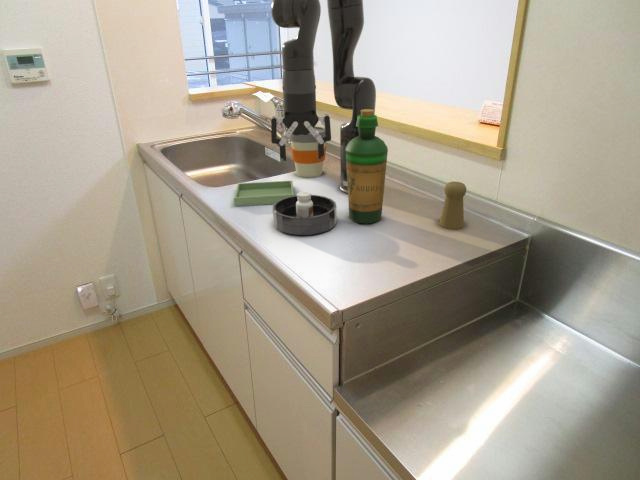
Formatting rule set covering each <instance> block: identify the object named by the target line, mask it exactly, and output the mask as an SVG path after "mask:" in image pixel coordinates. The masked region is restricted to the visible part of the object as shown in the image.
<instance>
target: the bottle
mask: <svg viewBox="0 0 640 480" xmlns="http://www.w3.org/2000/svg"><path fill="white" fill-rule="evenodd" d="M373 114H374V110H372V109H364V110H361V115H358V117H357V122H356V126H357V127H358V131H359V136H357V137H355V138H354V139H352V140H351V141H350V142H349V143H348V145H347V146H346V167H347V184H348V193H347V202H348V217H349V220H351V221H353V222H354V223H358V224H368V225H369V224H373V223H376V222H378V221H380V220H381V219H382V216H383V215H382V214H383V204H384V193H385V184H386V183H385V182H386V174H387V162H388V152H389V149H388V148H389V147H388V145H387V144H386V143H385V141H384V140H383V139H382V138H380V137H379V136H376V128H377V127H379V122H378V116H377V114H375V115H373Z"/></svg>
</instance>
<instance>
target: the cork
mask: <svg viewBox="0 0 640 480" xmlns="http://www.w3.org/2000/svg"><path fill="white" fill-rule="evenodd" d="M466 194H467V186H466V184H465V183H463V182H460V181H449V182H447V183H446V184H445V186H444V195H445V197H444V201H443V206H442V210H441V213H440V214H441V215H440V219H439V226H440V227H442V228H444V229H448V230H459V229H462V228H464V226H465V218H464V215H465V214H464V213H465V211H464V196H466Z"/></svg>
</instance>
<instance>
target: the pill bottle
mask: <svg viewBox="0 0 640 480" xmlns="http://www.w3.org/2000/svg"><path fill="white" fill-rule="evenodd" d="M311 195H312V193H311V192H309V191H299V192H297V199H298V201H297V202H296V215H297V217H313V202H312V201H311V200H310V199H311Z"/></svg>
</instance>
